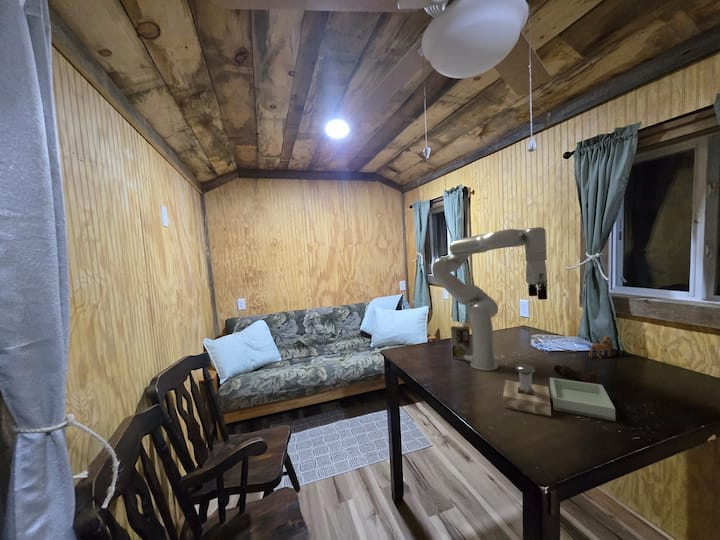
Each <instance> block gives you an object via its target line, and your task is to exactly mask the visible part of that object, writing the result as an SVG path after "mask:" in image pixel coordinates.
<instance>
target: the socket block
mask: <svg viewBox="0 0 720 540" xmlns="http://www.w3.org/2000/svg"><path fill="white" fill-rule="evenodd" d="M504 382H505V383H504V388H503V393H502V401H503V402H502V403H503V408H506V409H511V410H517V411H522V412H528V413H533V414H537V415H543V416H547V417H552V410H551V409H552V407H551V406H552V404H551V399H550V391H549V390H550V389H549V386H547V385H546V386H545V385H540V384H533V383H532V392H533V396H532V395H526V394H521V393H520V384H519V381H513V380H507V379H505V381H504Z"/></svg>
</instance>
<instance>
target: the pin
mask: <svg viewBox="0 0 720 540" xmlns="http://www.w3.org/2000/svg"><path fill="white" fill-rule="evenodd" d="M515 369H516V371H517V372H518V377H519V378H518V379H519V381H518V382H519V384H520V393H521V394H526V395H532V396H533V392H532V384H533V373H535V372H536V367H535V366H533V365H532V364H528V363H517V364H516V365H515Z"/></svg>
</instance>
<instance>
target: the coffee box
mask: <svg viewBox="0 0 720 540" xmlns="http://www.w3.org/2000/svg"><path fill="white" fill-rule="evenodd" d="M450 334H451V336H450V337H451V350H452V359H453V360H465V359H464V355H468V356H471V355H472V354H471V343H470V327H469V326H466V325H465V326H460V325H459V326H458V325H457V326H456V325H455V326H453V325H452V326H451V327H450Z"/></svg>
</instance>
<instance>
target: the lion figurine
mask: <svg viewBox="0 0 720 540" xmlns="http://www.w3.org/2000/svg"><path fill="white" fill-rule="evenodd" d="M613 346H614V341H613V339H612V338H611V337H610V336H606V335H605V336H603V337H602V339H601V343H595V342H594V343H592V344H591V347H590V350H589V353H588V357H590V358H593V352H594V351H596V356H597V357H598V358H599V359H603V356H604V355H605V351H606V352H607V356H608V357H612V355H611V350H612V349H613ZM600 353H601V355H603V356H600Z"/></svg>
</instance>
